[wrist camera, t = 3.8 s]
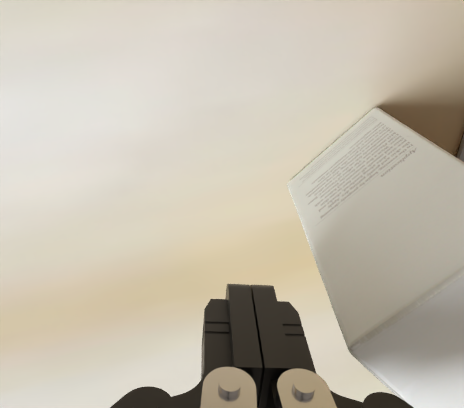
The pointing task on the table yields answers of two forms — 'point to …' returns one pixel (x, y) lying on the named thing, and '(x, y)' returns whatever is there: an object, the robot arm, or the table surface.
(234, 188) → the table surface
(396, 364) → the small box
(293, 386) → the robot arm
